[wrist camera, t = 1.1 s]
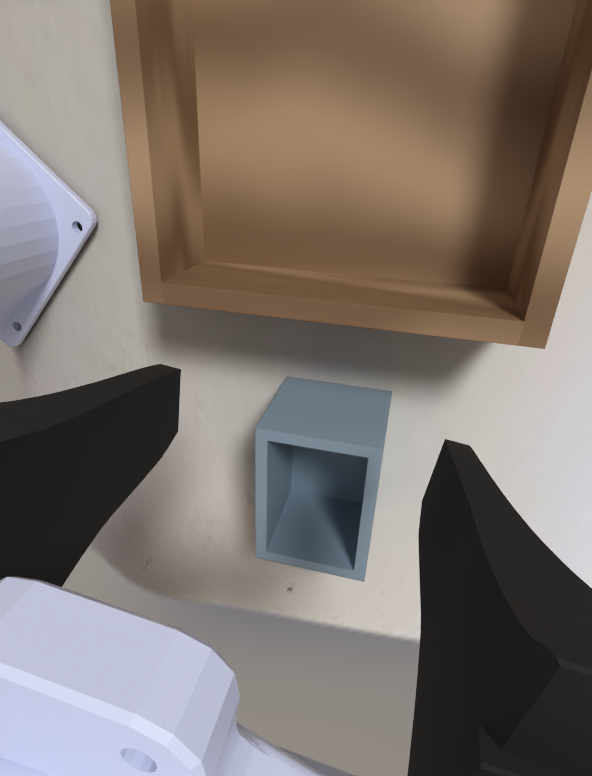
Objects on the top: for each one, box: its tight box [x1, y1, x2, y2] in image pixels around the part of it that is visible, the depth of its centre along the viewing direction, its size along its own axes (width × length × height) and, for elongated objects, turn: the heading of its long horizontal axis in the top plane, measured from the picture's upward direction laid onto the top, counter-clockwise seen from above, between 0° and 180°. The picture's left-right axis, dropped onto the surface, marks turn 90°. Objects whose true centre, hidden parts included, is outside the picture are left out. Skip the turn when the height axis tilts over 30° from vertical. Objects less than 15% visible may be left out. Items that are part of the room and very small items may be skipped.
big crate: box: [110, 0, 592, 349], centre depth 15 cm, size 16×14×4 cm
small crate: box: [255, 377, 392, 582], centre depth 22 cm, size 7×5×5 cm
